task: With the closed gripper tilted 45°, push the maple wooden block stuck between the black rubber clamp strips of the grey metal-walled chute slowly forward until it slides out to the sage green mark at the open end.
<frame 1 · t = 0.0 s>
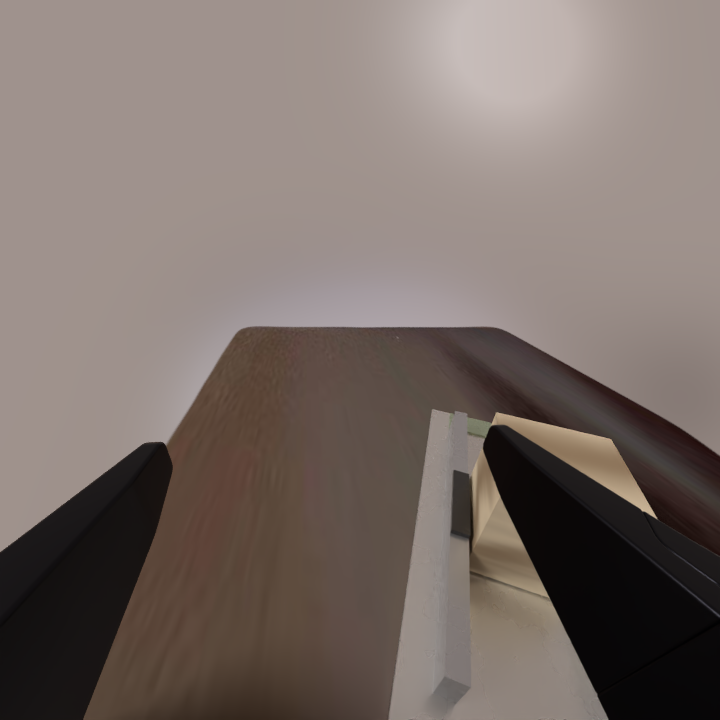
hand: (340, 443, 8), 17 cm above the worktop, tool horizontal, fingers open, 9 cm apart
chute: (507, 541, 23), on the worktop
jammed block: (535, 505, 20), point 5 cm above the worktop, slide at 0.0 cm
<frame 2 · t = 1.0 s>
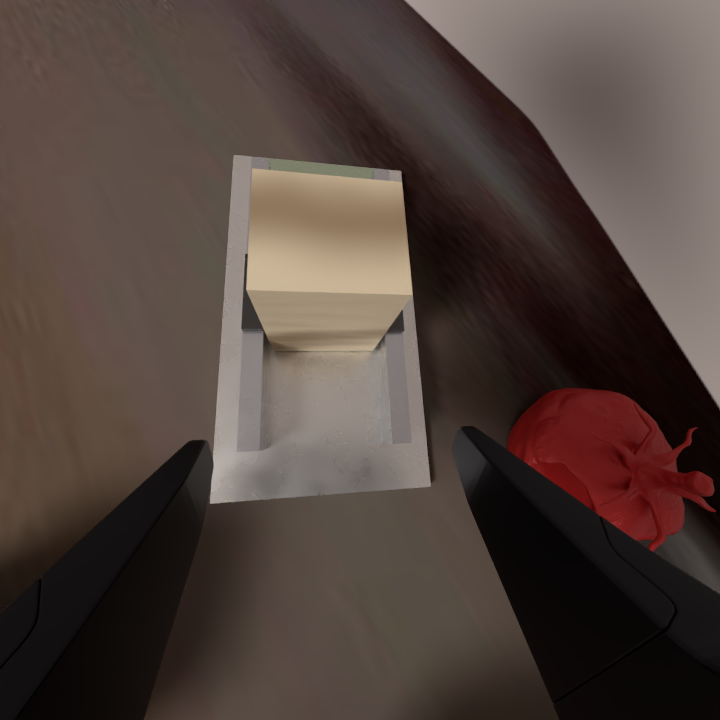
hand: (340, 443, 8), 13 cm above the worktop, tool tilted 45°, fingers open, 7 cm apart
chute: (323, 309, 23), on the worktop
pomegranate: (545, 461, 23), on the worktop
jammed block: (326, 280, 18), point 5 cm above the worktop, slide at 0.0 cm
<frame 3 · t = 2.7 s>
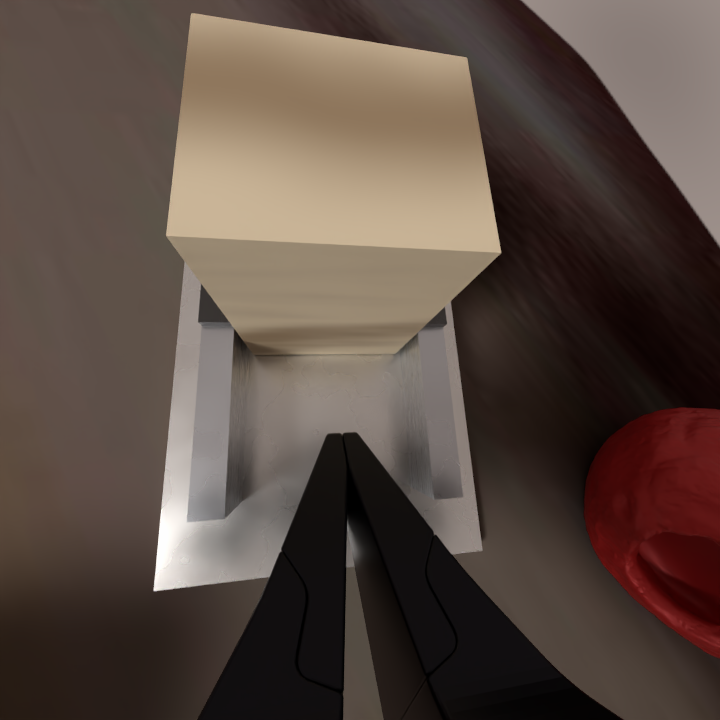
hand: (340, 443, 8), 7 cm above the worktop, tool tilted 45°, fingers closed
chute: (325, 295, 17), on the worktop
pomegranate: (631, 504, 17), on the worktop
jammed block: (331, 246, 11), point 5 cm above the worktop, slide at 0.0 cm
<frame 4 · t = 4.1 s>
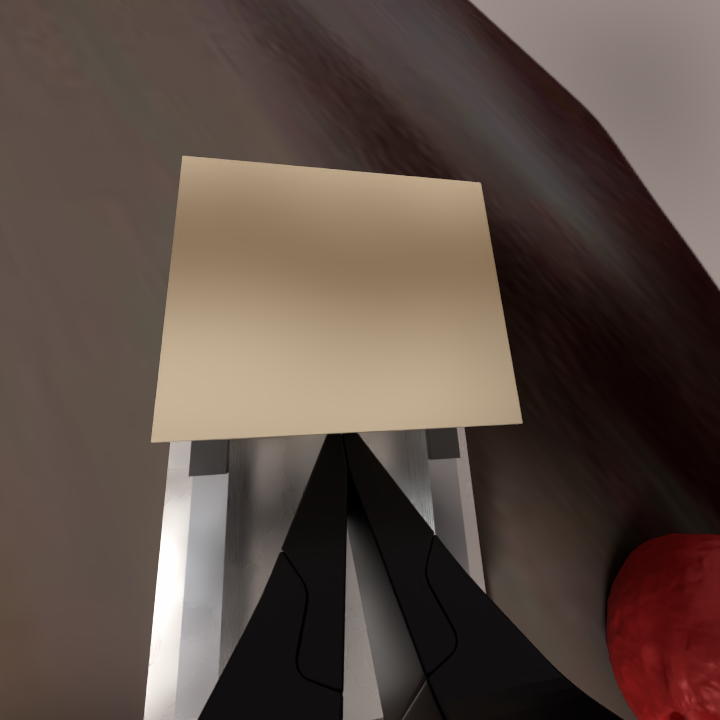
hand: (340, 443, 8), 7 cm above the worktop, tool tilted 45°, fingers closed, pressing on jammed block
chute: (327, 397, 15), on the worktop
pomegranate: (655, 619, 16), on the worktop
jammed block: (333, 346, 11), point 5 cm above the worktop, slide at 1.7 cm, touching gripper
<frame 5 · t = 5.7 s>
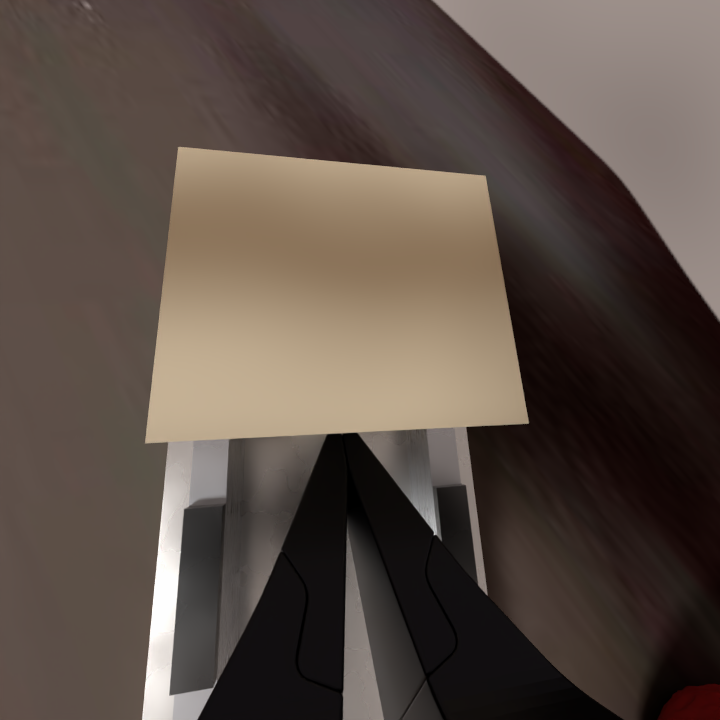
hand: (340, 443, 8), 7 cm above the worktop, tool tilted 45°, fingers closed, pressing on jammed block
chute: (330, 526, 14), on the worktop
jammed block: (334, 344, 11), point 5 cm above the worktop, slide at 7.7 cm, touching gripper
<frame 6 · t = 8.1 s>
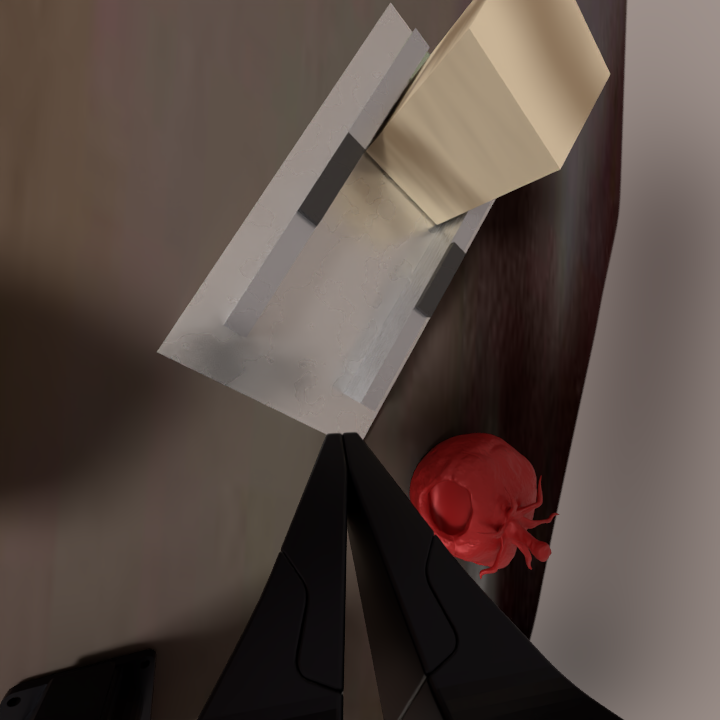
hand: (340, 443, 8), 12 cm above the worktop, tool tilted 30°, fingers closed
chute: (369, 242, 21), on the worktop
pomegranate: (442, 475, 27), on the worktop
jammed block: (471, 117, 17), point 5 cm above the worktop, slide at 7.7 cm
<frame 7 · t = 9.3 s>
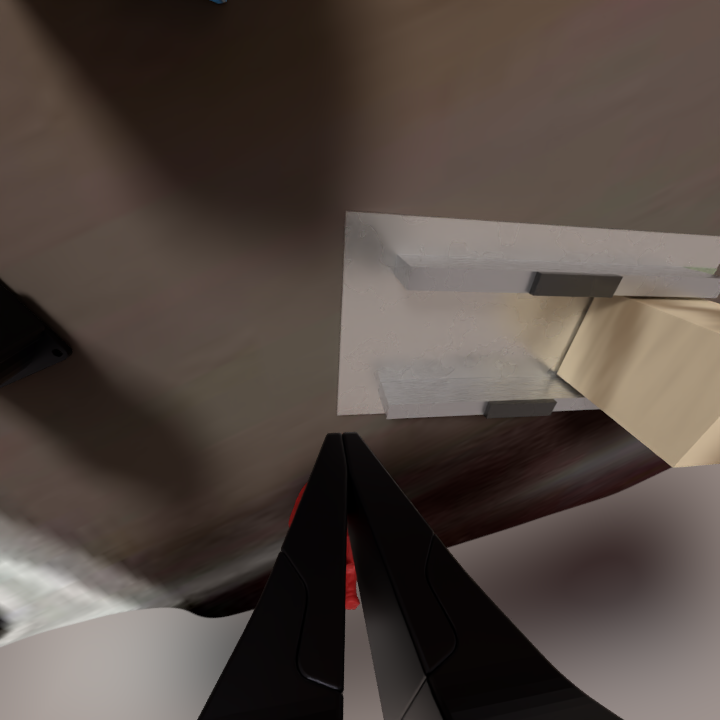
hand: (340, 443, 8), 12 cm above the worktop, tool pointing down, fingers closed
chute: (518, 329, 22), on the worktop
pomegranate: (343, 485, 29), on the worktop
jammed block: (673, 366, 19), point 5 cm above the worktop, slide at 7.7 cm
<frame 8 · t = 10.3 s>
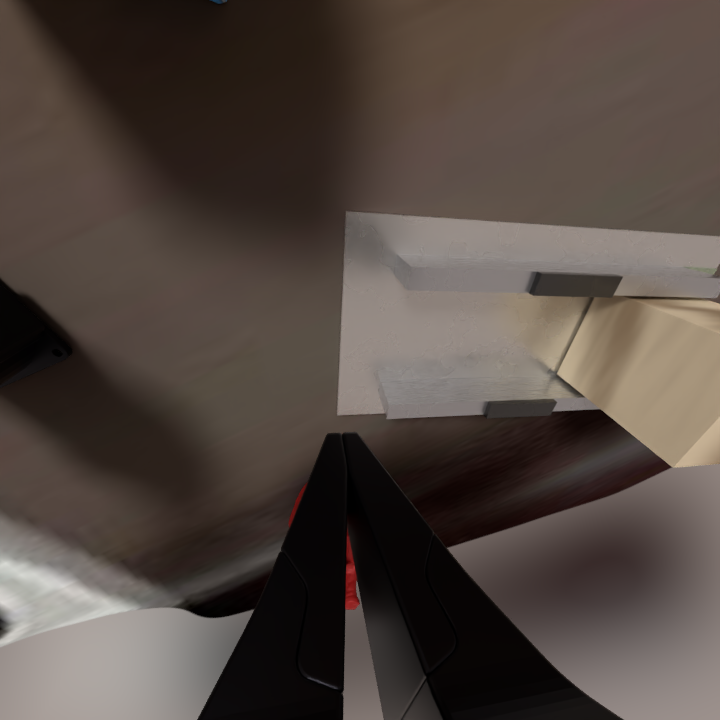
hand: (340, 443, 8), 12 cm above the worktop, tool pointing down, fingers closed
chute: (518, 329, 22), on the worktop
pomegranate: (343, 485, 29), on the worktop
jammed block: (673, 366, 19), point 5 cm above the worktop, slide at 7.7 cm
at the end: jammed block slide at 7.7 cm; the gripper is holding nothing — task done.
